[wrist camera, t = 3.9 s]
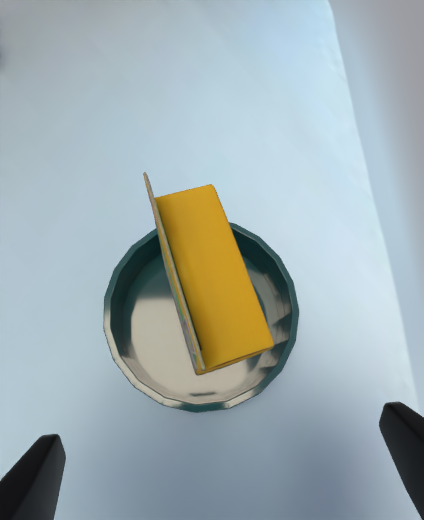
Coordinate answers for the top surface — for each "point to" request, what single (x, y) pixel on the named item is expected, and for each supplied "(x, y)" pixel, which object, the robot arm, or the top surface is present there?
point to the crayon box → (208, 280)
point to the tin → (171, 334)
